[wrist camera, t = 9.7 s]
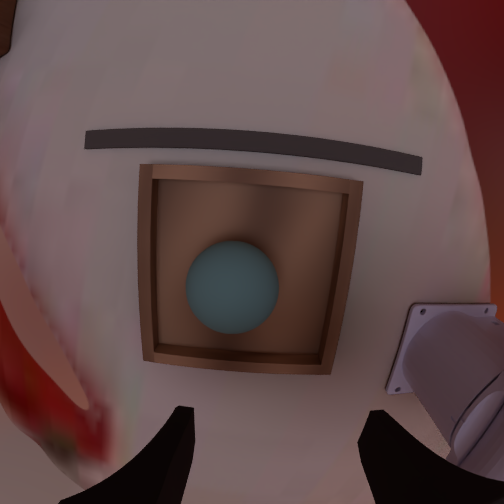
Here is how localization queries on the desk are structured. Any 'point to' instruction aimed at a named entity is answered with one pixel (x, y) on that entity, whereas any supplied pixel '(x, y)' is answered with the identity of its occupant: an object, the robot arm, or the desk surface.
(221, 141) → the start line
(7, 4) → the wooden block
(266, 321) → the tray
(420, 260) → the desk surface
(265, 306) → the ball
